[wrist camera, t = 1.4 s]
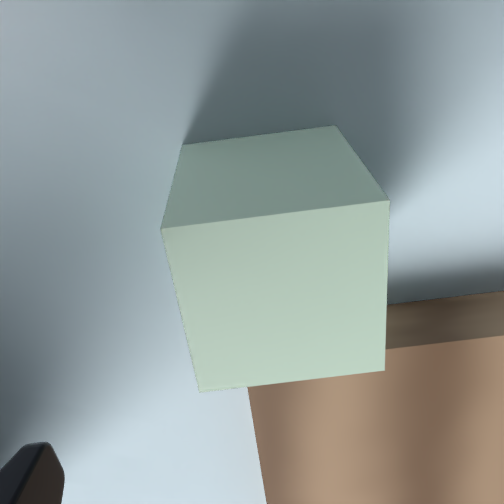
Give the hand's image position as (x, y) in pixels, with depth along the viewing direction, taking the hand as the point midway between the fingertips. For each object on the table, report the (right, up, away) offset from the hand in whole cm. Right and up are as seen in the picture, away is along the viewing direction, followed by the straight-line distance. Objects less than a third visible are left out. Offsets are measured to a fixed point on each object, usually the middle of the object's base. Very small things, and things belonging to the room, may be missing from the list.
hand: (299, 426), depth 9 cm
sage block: (0, +5, +8) cm, 10 cm away
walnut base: (+6, -4, +14) cm, 16 cm away
